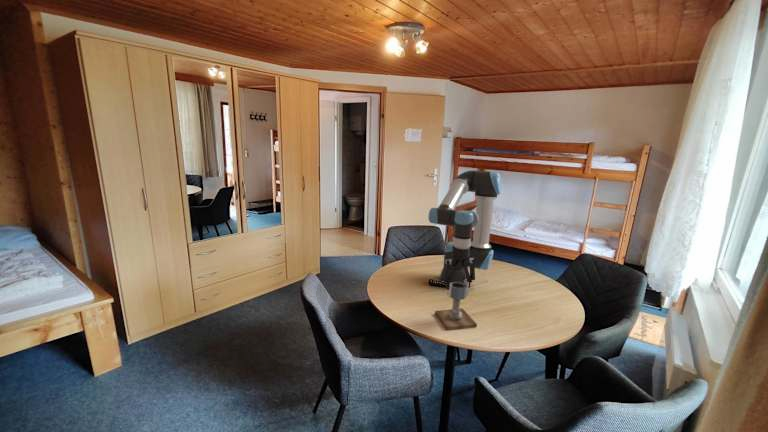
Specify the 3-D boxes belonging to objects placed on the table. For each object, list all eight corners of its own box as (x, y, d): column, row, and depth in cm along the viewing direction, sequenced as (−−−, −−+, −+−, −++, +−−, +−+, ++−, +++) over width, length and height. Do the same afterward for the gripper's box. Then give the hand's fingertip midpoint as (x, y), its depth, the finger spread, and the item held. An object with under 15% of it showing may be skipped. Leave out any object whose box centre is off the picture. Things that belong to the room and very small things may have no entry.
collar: (461, 291, 151) (461, 281, 150) (468, 298, 144) (469, 288, 143) (446, 292, 149) (446, 282, 148) (452, 300, 142) (453, 289, 141)
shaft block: (462, 311, 158) (464, 289, 155) (476, 327, 144) (479, 303, 142) (434, 313, 154) (436, 291, 152) (447, 330, 141) (449, 305, 139)
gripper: (478, 243, 147) (473, 290, 152) (436, 244, 143) (432, 293, 148) (487, 248, 140) (481, 297, 145) (442, 250, 136) (439, 300, 141)
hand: (457, 295), depth 146 cm, fingers closed on collar, 7 cm apart
